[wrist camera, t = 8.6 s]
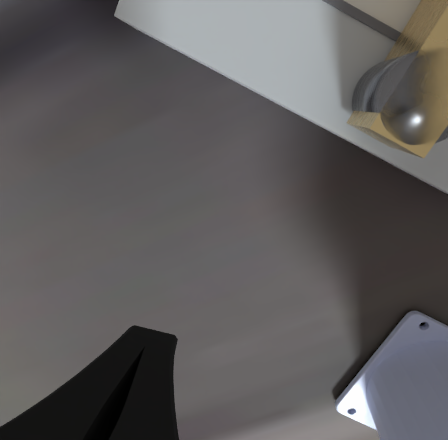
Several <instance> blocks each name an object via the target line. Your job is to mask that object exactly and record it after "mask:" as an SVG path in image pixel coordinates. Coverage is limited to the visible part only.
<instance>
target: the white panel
mask: <svg viewBox="0 0 448 440" xmlns="http://www.w3.org/2000/svg"><path fill="white" fill-rule="evenodd" d="M420 2H421V0H119V2H118V5H117V8H116V11H115V14H114V16H115V17H117V18H118V19H120V20H122V21H123V22H125V23H127V24H128V25H130V26H132V27H133V28H135V29H137V30H139V31H141V32H143V33H144V34H146V35H148V36H150V37H152V38H154V39H156V40H158V41H160V42H161V43H163V44H165V45H167V46H169V47H171V48H173V49H175V50H176V51H178V52H180V53H182V54H184V55H186V56H188V57H190V58H192V59H193V60H195V61H197V62H199V63H201V64H203V65H205V66H207V67H209V68H210V69H212V70H214V71H216V72H218V73H220V74H222V75H224V76H225V77H227V78H229V79H231V80H233V81H235V82H237V83H239V84H241V85H242V86H244V87H246V88H248V89H250V90H252V91H254V92H256V93H258V94H259V95H261V96H263V97H265V98H267V99H269V100H271V101H273V102H274V103H276V104H278V105H280V106H282V107H284V108H286V109H288V110H290V111H291V112H293V113H295V114H297V115H299V116H301V117H303V118H305V119H307V120H308V121H310V122H312V123H314V124H316V125H318V126H320V127H322V128H323V129H325V130H327V131H329V132H331V133H333V134H335V135H337V136H339V137H340V138H342V139H344V140H346V141H348V142H350V143H352V144H354V145H356V146H357V147H359V148H361V149H363V150H365V151H367V152H369V153H371V154H372V155H374V156H376V157H378V158H380V159H382V160H384V161H386V162H388V163H389V164H391V165H393V166H395V167H397V168H399V169H401V170H403V171H405V172H406V173H408V174H410V175H412V176H414V177H416V178H418V179H420V180H421V181H423V182H425V183H427V184H429V185H431V186H433V187H435V188H437V189H438V190H440V191H442V192H444V193H446V194H448V138H447V139H445V140H443V141H441V142H438V143H435V144H434V145H433V147H432V148H431V149H430V151H429V152H428V154H427V155H426V156H425V158H421V157H418V156H415V155H412V154H409V153H406V152H403V151H400V150H397V149H394V148H391V147H389V146H387V145H385V144H383V143H382V142H380V141H378V140H376V139H374V138H373V137H371V136H369V135H367V134H365V133H363V132H362V131H360V130H358V129H356V128H354V127H353V126H351V125H349V124H347V121H348V119H349V118H350V116H351V114H352V113H353V111H352V96H353V92H354V89H355V87H356V85H357V83H358V81H359V80H360V78H361V77H362V76H363V74H364V73H365V72H366V71H367V70H369V69H370V68H371V67H373V66H374V65H376V64H378V63H381V62H383V61H384V60H385V59H386V57H387V56H388V54H389V52H390V51H391V49H392V47H393V46H394V44H395V42H396V41H397V39H398V38H399V36H400V34H401V33H402V31H403V29H404V28H405V26H406V24H407V23H408V21H409V20H410V18H411V16H412V15H413V13H414V11H415V10H416V8H417V7H418V5H419V3H420Z"/></svg>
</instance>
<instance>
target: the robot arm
mask: <svg viewBox="0 0 448 440" xmlns="http://www.w3.org/2000/svg"><path fill="white" fill-rule="evenodd" d="M422 322H426V323H425V324H424V325H423V326H419V325H420V324H421V323H422ZM177 340H178V339H177V338H176V336H175V335H172V334H168V333H164V332H160V331H156V330H152V329H147V328H143V327H139V326H135V325H134V326H132V327H130V328H129V329H128V330H127V331H126V332H125V333H124V334H123V335H122V336H121V337H120V338H119V339H118V340H117V341H116V342H114V343H113V344H112V345H111V346H110V347H109V348H108V349H107V350H106V351H104V352H103V353H102V354H101V355H100V356H99V357H97V358H96V359H95V360H94V361H93V362H91V363H90V364H89V365H88V366H87V367H85V368H84V369H83V370H82V371H81V372H79V373H78V374H77V375H75V376H74V377H73V378H71V379H70V380H69V381H67V382H66V383H65V384H63V385H62V386H61V387H59V388H58V389H57V390H55V391H54V392H53V393H51V394H50V395H49V396H47V397H46V398H44V399H43V400H41V401H40V402H38V403H37V404H36V405H34V406H33V407H31V408H30V409H28V410H26V411H25V412H23V413H22V414H20V415H19V416H17V417H16V418H14V419H12V420H11V421H9V422H8V423H6V424H4V425H3V426H1V427H0V440H179V437H178V430H177V422H176V413H175V402H174V384H173V366H174V355H175V350H176V345H177ZM335 406H336V409H337V411H338V412H339V413H341V414H343V415H345V416H348V417H350V418H352V419H354V420H356V421H358V422H360V423H363V424H365V425H367V426H369V427H371V428H373V429H375V430H377V431H378V434H379V437H380V440H448V326H447V325H445V324H443V323H441V322H439V321H437V320H435V319H433V318H431V317H429V316H427V315H425V314H423V313H421V312H419V311H411V312H408V313H407V314H406V315H405V316H404V317H403V319H402V320H401V321H400V322H399V324H398V325H397V326H396V327H395V328H394V330H393V331H392V332H391V333H390V335H389V336H388V337H387V338H386V340H385V341H384V342H383V343H382V344H381V346H380V347H379V348H378V349H377V351H376V352H375V353H374V354H373V356H372V357H371V358H370V359H369V360H368V362H367V363H366V364H365V365H364V367H363V368H362V369H361V370H360V371H359V373H358V374H357V375H356V376H355V378H354V379H353V380H352V381H351V383H350V384H349V385H348V386H347V387H346V389H345V390H344V391H343V392H342V394H341V395H340V396H339V397H338V399H337V400H336V402H335ZM350 408H353V409H350Z"/></svg>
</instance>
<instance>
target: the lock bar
mask: <svg viewBox="0 0 448 440" xmlns="http://www.w3.org/2000/svg"><path fill="white" fill-rule="evenodd" d="M352 111H353V113H352V114H351V116H350V118H349V119H348V121H347V124H349V125H351V126H353V127H354V128H356V129H358V130H360V131H362V132H363V133H365V134H367V135H369V136H371V137H373V138H374V139H376V140H378V141H380V142H382V143H383V144H385V145H387V146H389V147H391V148H394V149H397V150H400V151H403V152H406V153H409V154H412V155H415V156H418V157H421V158H425V156H426V155H427V154H428V152H429V151H430V149H431V148H432V147H433V145H434V144H435V143H438V142H441V141H443V140H445V139H447V138H448V0H421V2H420V3H419V5H418V7H417V8H416V10H415V11H414V13H413V15H412V16H411V18H410V20H409V21H408V23H407V24H406V26H405V28H404V29H403V31H402V33H401V34H400V36H399V38H398V39H397V41H396V42H395V44H394V46H393V47H392V49H391V51H390V52H389V54H388V56H387V57H386V59H385V60H384V61H383V62H381V63H378V64H376V65H374V66H373V67H371V68H370V69H369V70H367V71H366V72H365V73H364V74H363V76H362V77H361V78H360V80H359V81H358V83H357V85H356V87H355V89H354V92H353V96H352Z"/></svg>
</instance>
